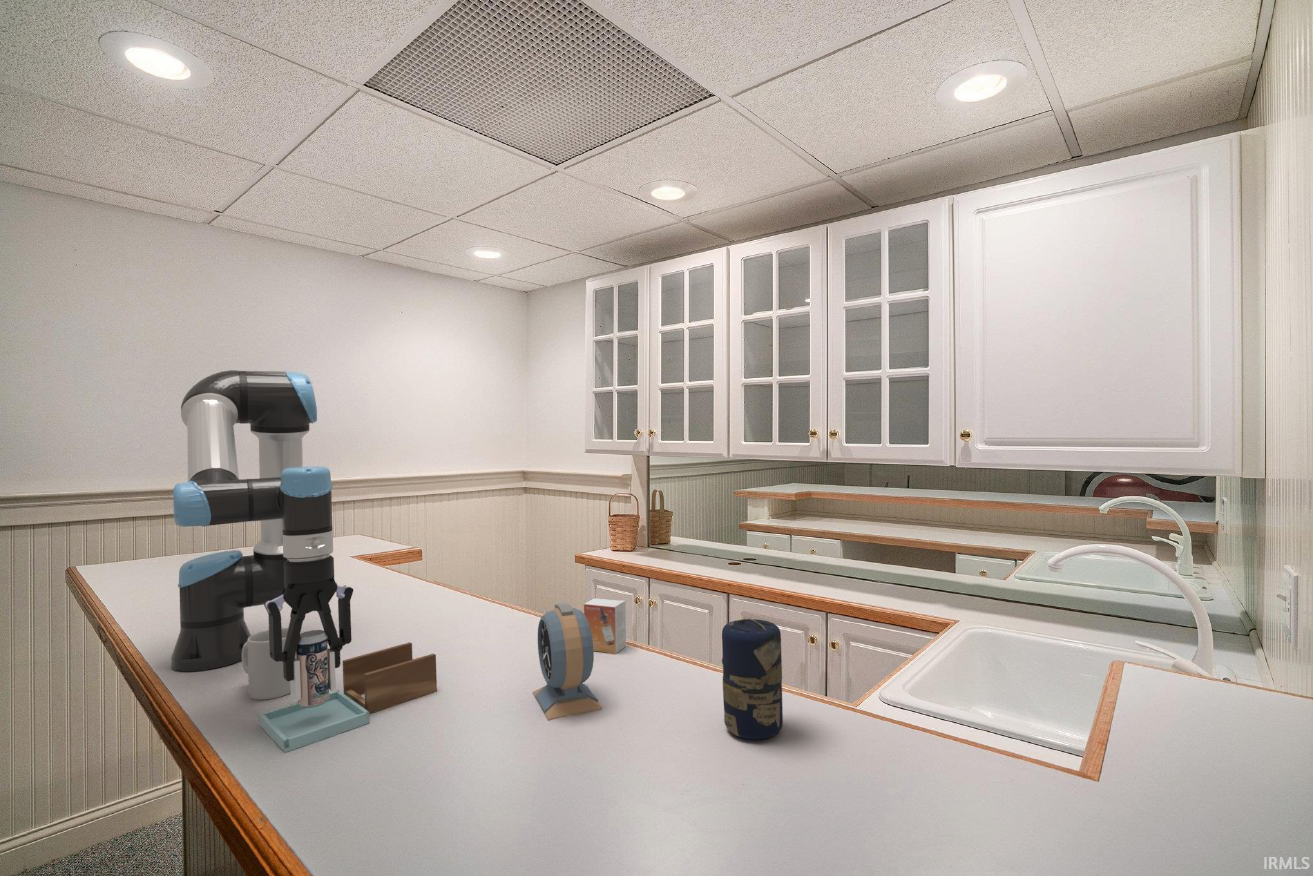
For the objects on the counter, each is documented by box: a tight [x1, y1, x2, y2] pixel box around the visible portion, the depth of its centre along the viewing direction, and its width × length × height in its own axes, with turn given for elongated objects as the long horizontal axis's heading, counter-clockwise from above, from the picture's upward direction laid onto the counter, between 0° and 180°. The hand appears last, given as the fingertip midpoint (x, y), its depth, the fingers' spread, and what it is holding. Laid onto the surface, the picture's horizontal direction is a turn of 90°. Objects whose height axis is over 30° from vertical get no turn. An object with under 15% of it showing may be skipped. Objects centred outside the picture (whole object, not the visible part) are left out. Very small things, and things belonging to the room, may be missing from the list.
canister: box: [721, 618, 784, 740], centre depth 101 cm, size 10×10×18 cm
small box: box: [583, 597, 627, 655], centre depth 141 cm, size 8×6×10 cm
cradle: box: [342, 642, 438, 714], centre depth 119 cm, size 11×13×7 cm
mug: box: [241, 627, 297, 701], centre depth 122 cm, size 12×8×11 cm
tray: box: [258, 690, 371, 753], centre depth 107 cm, size 14×13×2 cm
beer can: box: [296, 629, 330, 708], centre depth 107 cm, size 5×5×12 cm
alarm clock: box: [532, 602, 603, 721], centre depth 114 cm, size 14×10×18 cm
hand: (313, 692), depth 107 cm, fingers closed on beer can, 5 cm apart
